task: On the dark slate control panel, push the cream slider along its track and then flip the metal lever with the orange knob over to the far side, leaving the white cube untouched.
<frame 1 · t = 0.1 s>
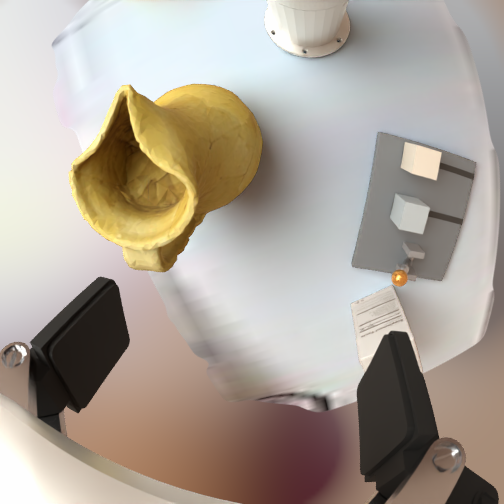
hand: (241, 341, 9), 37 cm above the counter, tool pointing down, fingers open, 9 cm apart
lever: (404, 269, 38), point 7 cm above the counter, hinge at 30.0°
supplement box: (378, 310, 50), on the counter
white cube: (409, 212, 37), point 4 cm above the counter, slide at 0.0 cm
panel: (415, 211, 40), on the counter
pitcher: (211, 147, 43), on the counter
cream slider: (420, 160, 33), point 4 cm above the counter, slide at 0.0 cm
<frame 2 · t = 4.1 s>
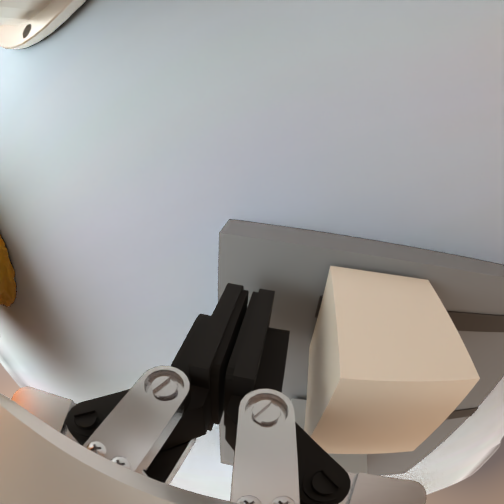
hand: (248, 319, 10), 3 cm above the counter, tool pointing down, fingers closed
white cube: (317, 456, 12), point 4 cm above the counter, slide at 0.0 cm
panel: (362, 403, 15), on the counter
cream slider: (377, 362, 8), point 4 cm above the counter, slide at 0.1 cm, touching gripper
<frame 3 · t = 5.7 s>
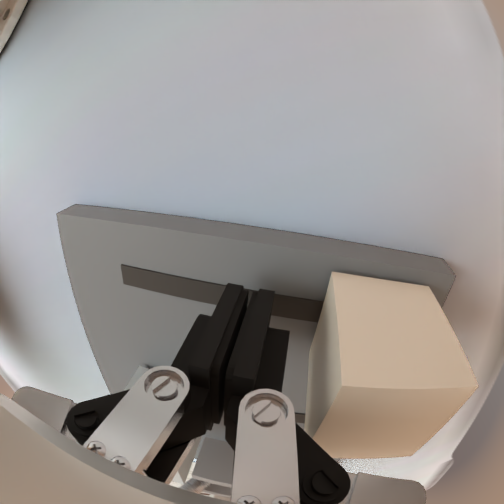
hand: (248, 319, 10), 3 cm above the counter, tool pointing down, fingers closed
lever: (180, 496, 14), point 7 cm above the counter, hinge at 30.0°
white cube: (159, 427, 13), point 4 cm above the counter, slide at 0.0 cm
panel: (230, 390, 16), on the counter
cream slider: (377, 368, 8), point 4 cm above the counter, slide at 8.7 cm, touching gripper
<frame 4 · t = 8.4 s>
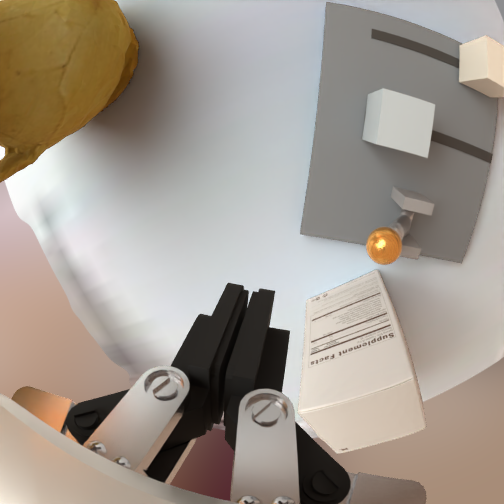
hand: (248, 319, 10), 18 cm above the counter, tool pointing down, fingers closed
lever: (395, 232, 19), point 7 cm above the counter, hinge at 30.0°
supplement box: (355, 311, 31), on the counter
white cube: (396, 122, 18), point 4 cm above the counter, slide at 0.0 cm
panel: (410, 135, 21), on the counter
pitcher: (90, 72, 23), on the counter
cream slider: (489, 68, 13), point 4 cm above the counter, slide at 8.7 cm
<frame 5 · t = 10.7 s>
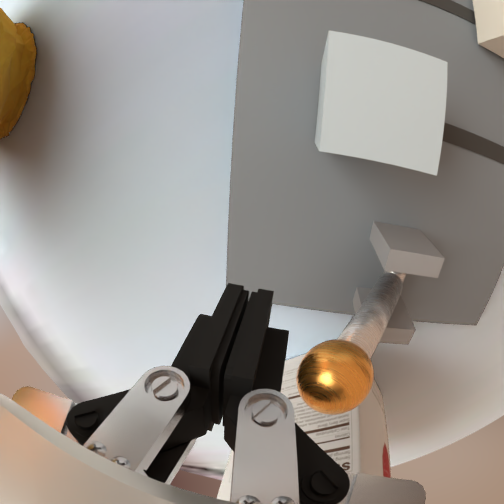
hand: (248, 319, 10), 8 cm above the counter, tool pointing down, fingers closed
lever: (370, 321, 10), point 7 cm above the counter, hinge at 27.3°, touching gripper
supplement box: (322, 383, 22), on the counter
white cube: (371, 105, 9), point 4 cm above the counter, slide at 0.0 cm
panel: (405, 131, 13), on the counter
pitcher: (1, 90, 15), on the counter
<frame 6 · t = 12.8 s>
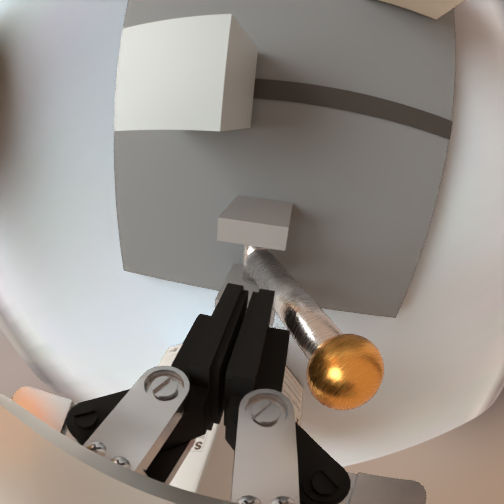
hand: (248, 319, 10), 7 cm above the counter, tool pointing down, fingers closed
lever: (294, 306, 11), point 7 cm above the counter, hinge at -30.9°
supplement box: (236, 368, 23), on the counter
white cube: (193, 79, 10), point 4 cm above the counter, slide at 0.0 cm
panel: (278, 102, 13), on the counter
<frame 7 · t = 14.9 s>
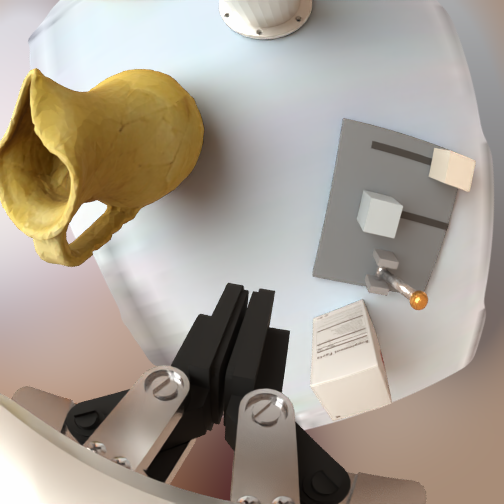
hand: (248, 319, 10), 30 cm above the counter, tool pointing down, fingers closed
lever: (400, 285, 33), point 7 cm above the counter, hinge at -30.9°
supplement box: (346, 327, 44), on the counter
white cube: (378, 213, 32), point 4 cm above the counter, slide at 0.0 cm
panel: (390, 212, 36), on the counter
pitcher: (160, 140, 38), on the counter
cream slider: (451, 168, 28), point 4 cm above the counter, slide at 8.7 cm
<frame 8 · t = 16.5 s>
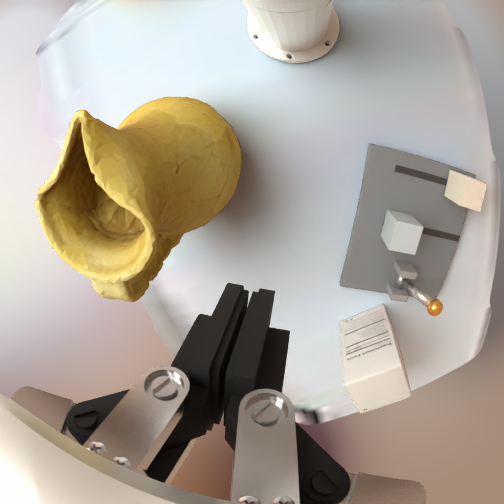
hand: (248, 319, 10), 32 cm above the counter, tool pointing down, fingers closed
lever: (418, 294, 36), point 7 cm above the counter, hinge at -30.9°
supplement box: (368, 328, 48), on the counter
white cube: (401, 231, 35), point 4 cm above the counter, slide at 0.0 cm
panel: (409, 227, 39), on the counter
pitcher: (192, 161, 41), on the counter
cream slider: (465, 190, 30), point 4 cm above the counter, slide at 8.7 cm
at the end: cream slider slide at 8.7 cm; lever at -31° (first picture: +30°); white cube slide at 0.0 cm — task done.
